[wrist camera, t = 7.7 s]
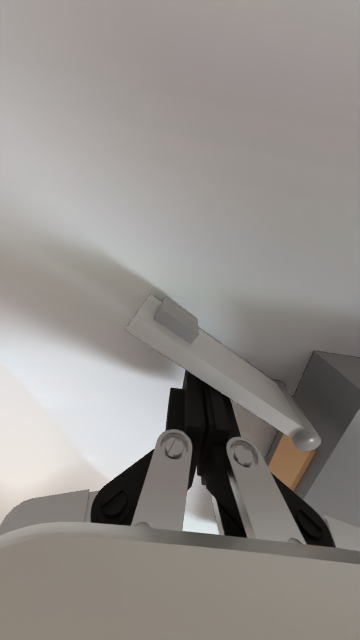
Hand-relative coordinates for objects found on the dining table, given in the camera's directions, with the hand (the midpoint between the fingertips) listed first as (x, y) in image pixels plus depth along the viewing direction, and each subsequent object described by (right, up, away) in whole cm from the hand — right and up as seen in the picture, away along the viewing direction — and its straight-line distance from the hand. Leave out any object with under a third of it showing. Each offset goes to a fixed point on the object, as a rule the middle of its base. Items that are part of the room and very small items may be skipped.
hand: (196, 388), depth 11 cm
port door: (+2, +2, +1) cm, 3 cm away
